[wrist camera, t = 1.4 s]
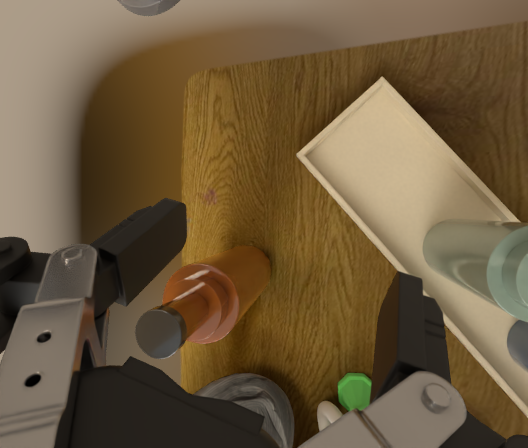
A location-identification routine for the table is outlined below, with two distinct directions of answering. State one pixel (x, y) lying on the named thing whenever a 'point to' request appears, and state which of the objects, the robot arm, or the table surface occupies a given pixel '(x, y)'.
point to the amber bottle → (204, 301)
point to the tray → (415, 211)
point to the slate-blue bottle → (519, 344)
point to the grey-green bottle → (483, 260)
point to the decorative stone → (257, 402)
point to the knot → (327, 414)
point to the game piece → (354, 391)
